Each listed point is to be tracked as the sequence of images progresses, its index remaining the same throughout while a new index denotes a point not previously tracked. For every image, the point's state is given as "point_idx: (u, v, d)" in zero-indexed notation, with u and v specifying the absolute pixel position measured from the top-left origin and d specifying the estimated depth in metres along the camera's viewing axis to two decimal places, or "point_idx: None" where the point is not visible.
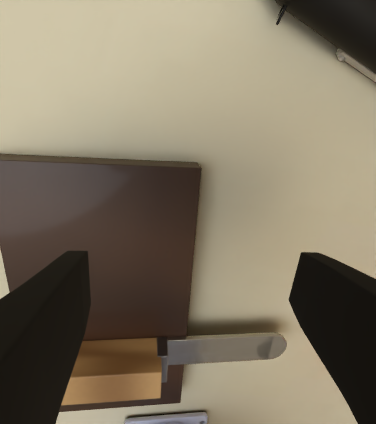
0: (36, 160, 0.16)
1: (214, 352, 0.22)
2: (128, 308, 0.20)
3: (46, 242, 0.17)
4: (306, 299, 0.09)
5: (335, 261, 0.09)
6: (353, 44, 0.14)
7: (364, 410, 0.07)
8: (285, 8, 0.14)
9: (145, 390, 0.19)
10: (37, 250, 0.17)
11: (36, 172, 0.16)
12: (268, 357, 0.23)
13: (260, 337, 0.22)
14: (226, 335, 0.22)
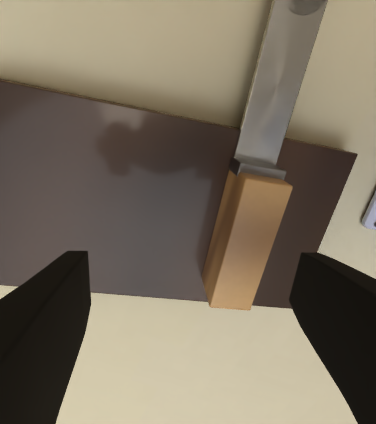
0: None
1: (278, 91, 0.15)
2: (175, 194, 0.17)
3: None
4: (306, 299, 0.09)
5: (335, 261, 0.09)
6: None
7: (364, 410, 0.07)
8: None
9: (269, 203, 0.14)
10: None
11: None
12: None
13: (275, 5, 0.13)
14: (255, 68, 0.15)
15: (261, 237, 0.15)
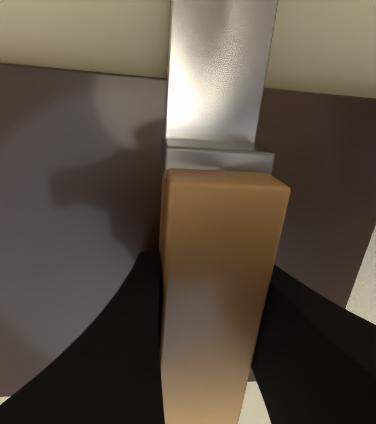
0: None
1: None
2: (68, 224, 0.09)
3: None
4: None
5: None
6: None
7: (277, 417, 0.07)
8: None
9: (240, 233, 0.06)
10: None
11: None
12: None
13: None
14: None
15: (234, 304, 0.07)
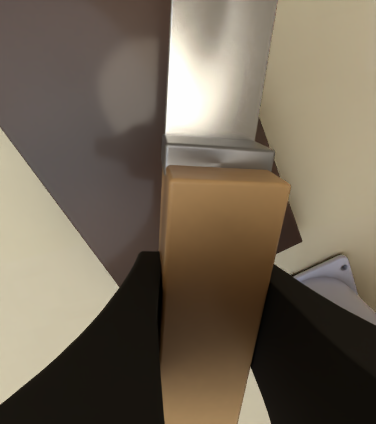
0: None
1: None
2: None
3: (21, 61, 0.13)
4: None
5: None
6: None
7: (277, 417, 0.07)
8: None
9: (240, 229, 0.06)
10: (19, 79, 0.13)
11: None
12: None
13: None
14: None
15: (234, 302, 0.07)
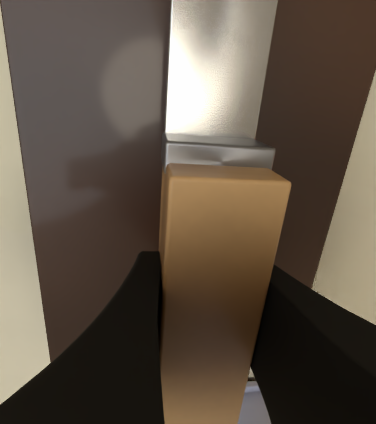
0: None
1: None
2: None
3: None
4: None
5: None
6: None
7: (277, 417, 0.07)
8: None
9: (240, 228, 0.06)
10: None
11: None
12: None
13: None
14: None
15: (235, 301, 0.07)
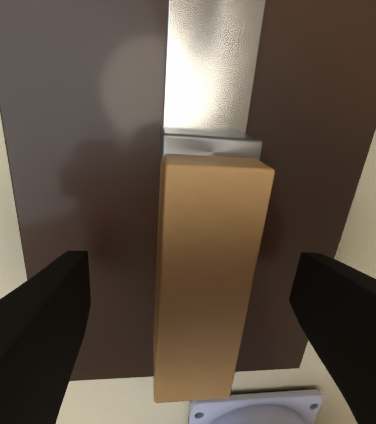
0: None
1: None
2: None
3: None
4: (306, 299, 0.09)
5: (335, 261, 0.09)
6: None
7: (364, 410, 0.07)
8: None
9: (229, 210, 0.07)
10: None
11: None
12: None
13: None
14: None
15: (225, 278, 0.08)
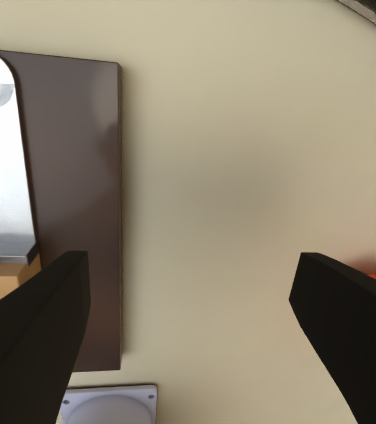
0: None
1: (4, 179, 0.15)
2: (45, 247, 0.17)
3: None
4: (306, 299, 0.09)
5: (335, 261, 0.09)
6: None
7: (364, 410, 0.07)
8: None
9: None
10: None
11: None
12: (9, 83, 0.13)
13: None
14: None
15: None
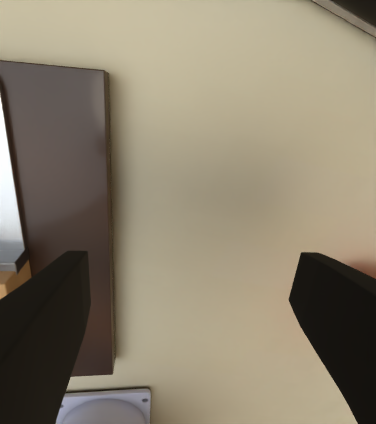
0: None
1: None
2: (35, 254, 0.17)
3: None
4: (306, 299, 0.09)
5: (336, 261, 0.09)
6: None
7: (364, 410, 0.07)
8: None
9: None
10: None
11: None
12: None
13: None
14: None
15: None
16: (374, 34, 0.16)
